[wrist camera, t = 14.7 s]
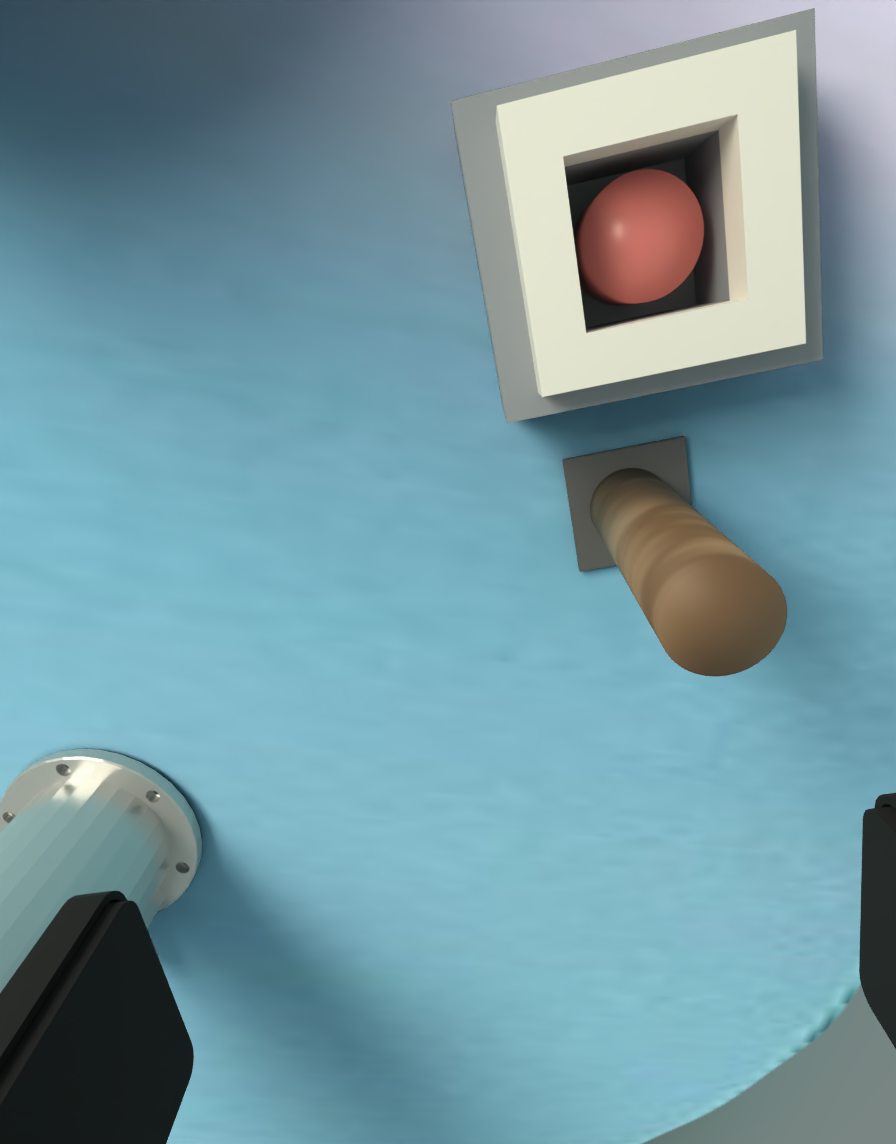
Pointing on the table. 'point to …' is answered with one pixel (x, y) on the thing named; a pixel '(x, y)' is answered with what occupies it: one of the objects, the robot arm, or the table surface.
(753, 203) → the grey white square holder
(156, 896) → the robot arm
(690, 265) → the egg
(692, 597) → the brown rounded cylinder
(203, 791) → the table surface
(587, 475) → the coaster
